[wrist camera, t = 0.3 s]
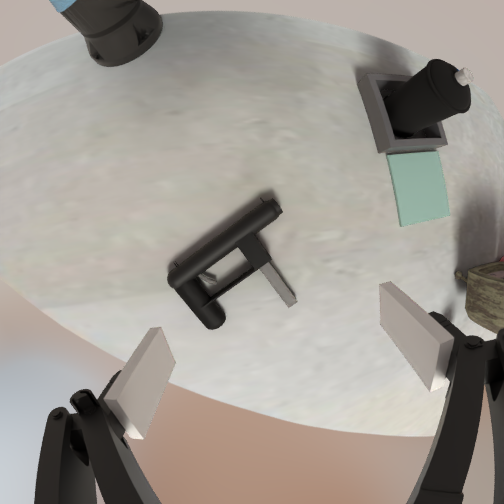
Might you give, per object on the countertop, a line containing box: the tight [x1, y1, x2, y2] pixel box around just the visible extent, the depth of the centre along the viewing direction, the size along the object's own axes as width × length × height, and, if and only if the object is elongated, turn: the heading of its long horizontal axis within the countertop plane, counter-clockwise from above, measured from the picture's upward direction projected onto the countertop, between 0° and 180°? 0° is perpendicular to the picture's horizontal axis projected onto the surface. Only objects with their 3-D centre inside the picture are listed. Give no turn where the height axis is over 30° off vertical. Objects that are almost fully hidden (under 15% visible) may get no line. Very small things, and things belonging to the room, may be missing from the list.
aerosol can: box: [383, 59, 474, 138], centre depth 29 cm, size 8×8×20 cm
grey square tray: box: [357, 74, 448, 153], centre depth 36 cm, size 13×13×4 cm
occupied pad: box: [386, 151, 450, 227], centre depth 40 cm, size 12×12×1 cm
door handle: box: [167, 197, 298, 330], centre depth 41 cm, size 3×20×16 cm
